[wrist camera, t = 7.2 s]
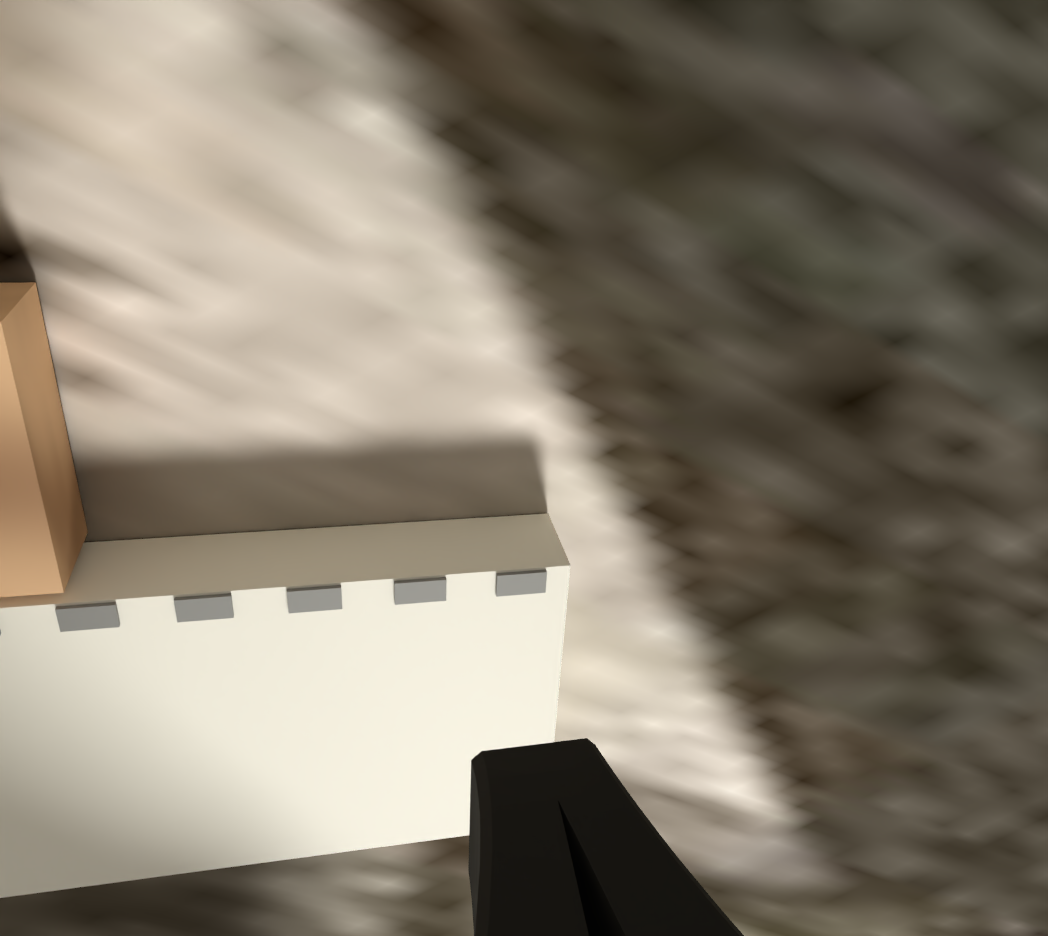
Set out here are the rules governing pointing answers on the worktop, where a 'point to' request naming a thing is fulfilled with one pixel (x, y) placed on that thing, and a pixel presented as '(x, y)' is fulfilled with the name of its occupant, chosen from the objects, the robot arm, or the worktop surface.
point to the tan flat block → (33, 457)
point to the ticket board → (269, 694)
